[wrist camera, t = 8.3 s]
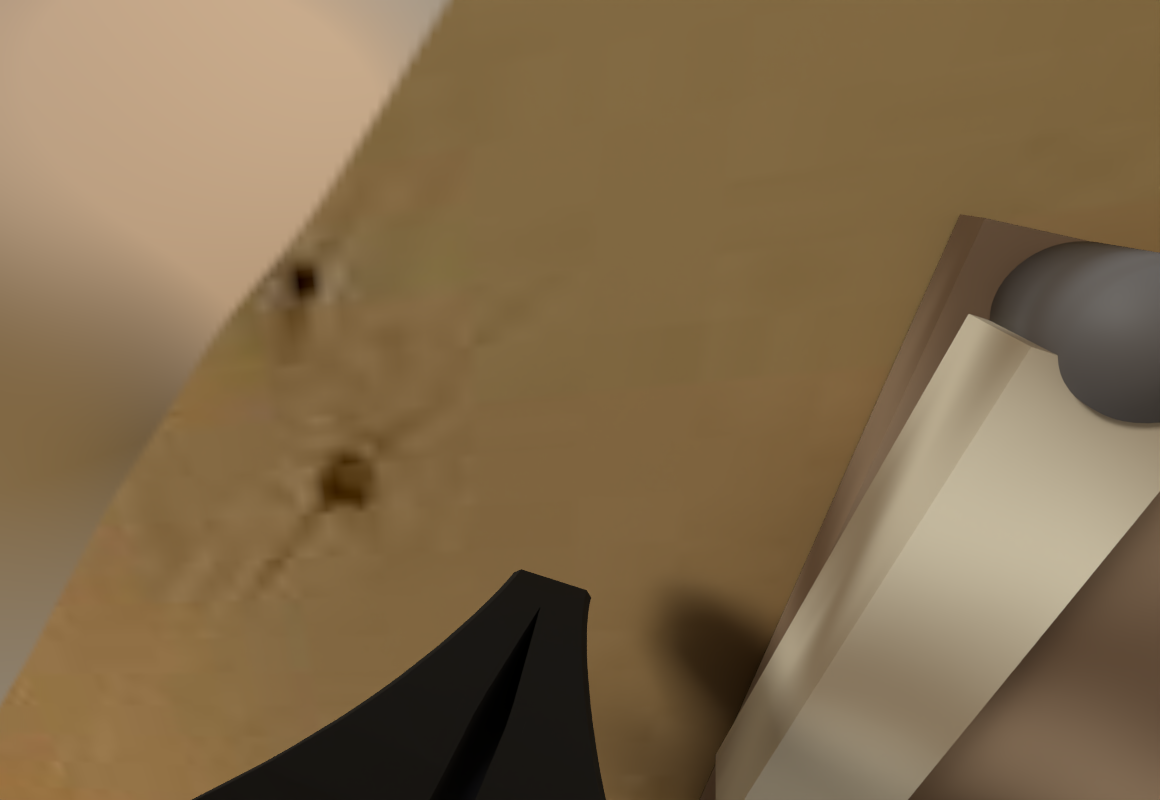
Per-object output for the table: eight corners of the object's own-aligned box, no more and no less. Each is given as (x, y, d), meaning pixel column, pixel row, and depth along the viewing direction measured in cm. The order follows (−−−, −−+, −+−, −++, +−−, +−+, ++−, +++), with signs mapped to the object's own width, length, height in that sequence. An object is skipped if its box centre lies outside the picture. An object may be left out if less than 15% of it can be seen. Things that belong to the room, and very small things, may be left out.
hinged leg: (1022, 218, 9) (1116, 231, 7) (1188, 270, 8) (1336, 298, 6) (715, 754, 14) (715, 853, 12) (815, 795, 13) (833, 904, 11)
